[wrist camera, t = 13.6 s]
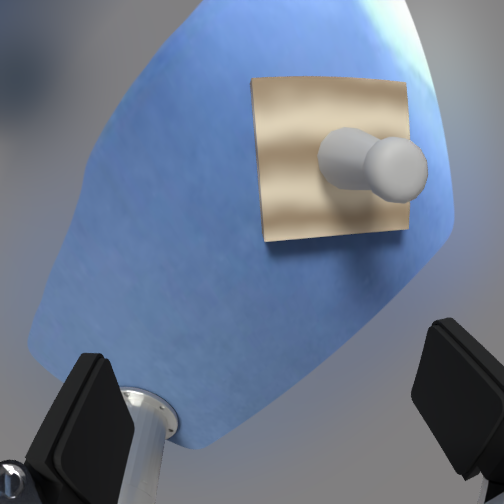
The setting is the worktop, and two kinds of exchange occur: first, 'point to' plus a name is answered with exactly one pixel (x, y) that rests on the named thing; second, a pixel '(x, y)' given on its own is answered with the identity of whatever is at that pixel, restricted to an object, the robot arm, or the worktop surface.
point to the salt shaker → (373, 164)
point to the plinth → (306, 150)
